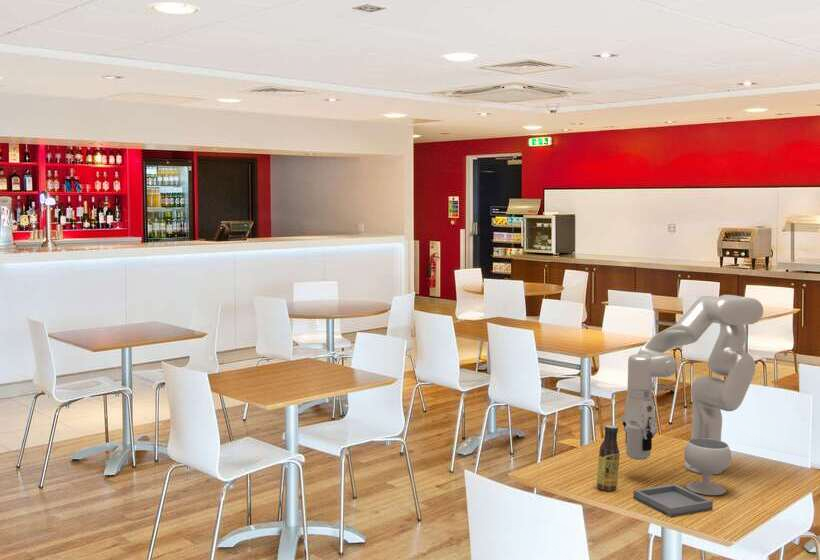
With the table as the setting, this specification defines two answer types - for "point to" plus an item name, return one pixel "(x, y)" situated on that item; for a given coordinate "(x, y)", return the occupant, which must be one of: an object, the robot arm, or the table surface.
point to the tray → (672, 500)
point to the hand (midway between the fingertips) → (638, 446)
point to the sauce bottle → (608, 460)
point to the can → (635, 442)
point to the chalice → (707, 463)
